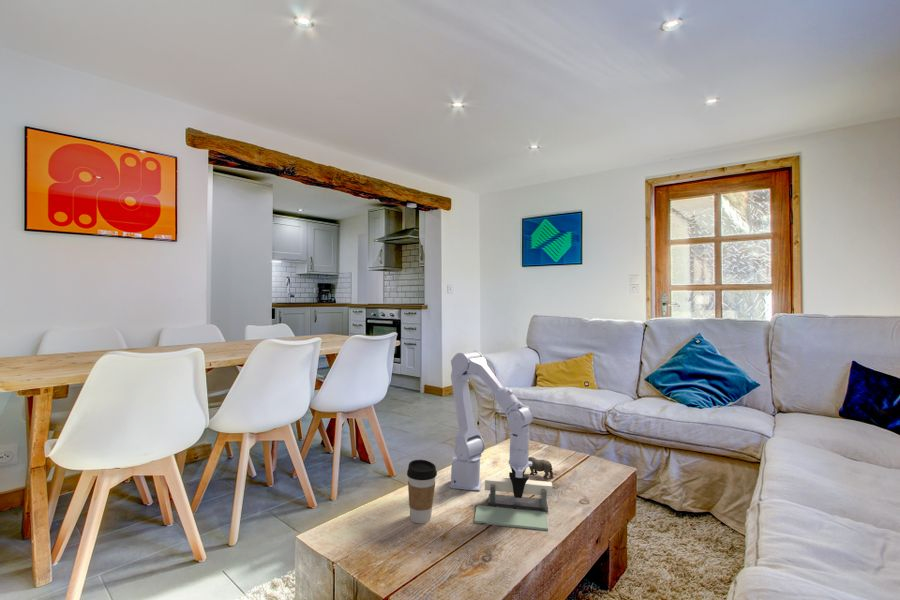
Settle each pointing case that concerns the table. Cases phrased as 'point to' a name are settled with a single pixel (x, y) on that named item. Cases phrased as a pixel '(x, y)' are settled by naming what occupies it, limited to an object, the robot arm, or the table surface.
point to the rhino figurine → (541, 467)
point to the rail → (507, 486)
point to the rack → (518, 501)
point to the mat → (511, 517)
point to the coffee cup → (421, 489)
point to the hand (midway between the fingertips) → (517, 491)
